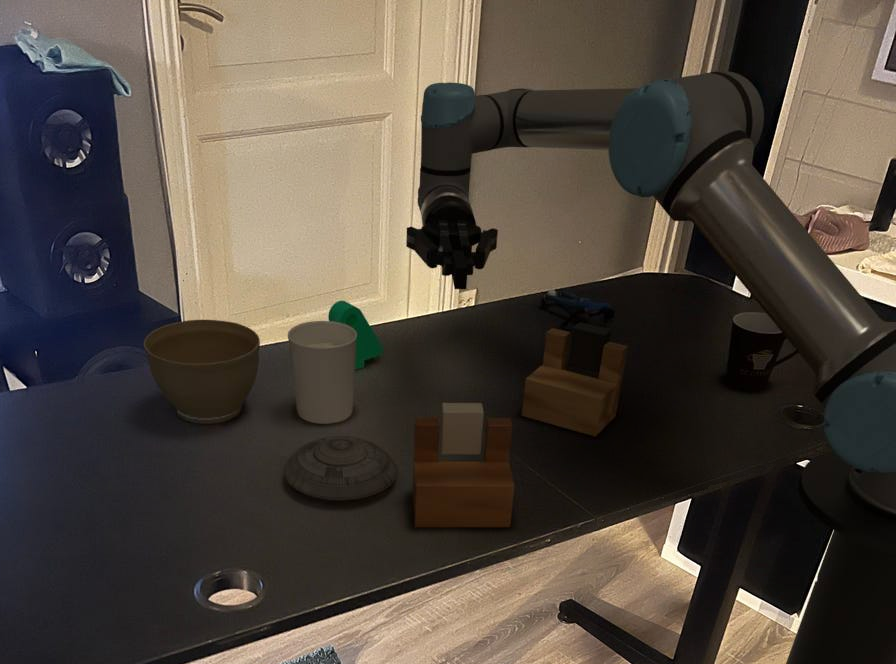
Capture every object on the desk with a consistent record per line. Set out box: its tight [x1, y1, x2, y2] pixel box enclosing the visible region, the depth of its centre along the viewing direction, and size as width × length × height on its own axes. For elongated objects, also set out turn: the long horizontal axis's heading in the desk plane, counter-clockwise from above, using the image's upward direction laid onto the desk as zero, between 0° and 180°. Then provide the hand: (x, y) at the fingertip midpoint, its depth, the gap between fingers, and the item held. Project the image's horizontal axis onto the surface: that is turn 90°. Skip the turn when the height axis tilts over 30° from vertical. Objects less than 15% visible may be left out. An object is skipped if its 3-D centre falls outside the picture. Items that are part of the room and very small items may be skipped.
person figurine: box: [540, 289, 616, 330], centre depth 175 cm, size 11×4×18 cm
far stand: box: [521, 327, 629, 437], centre depth 143 cm, size 8×12×11 cm, turn 60°
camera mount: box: [327, 300, 383, 370], centre depth 156 cm, size 12×8×10 cm, turn 127°
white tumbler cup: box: [287, 320, 357, 425], centre depth 141 cm, size 10×10×12 cm
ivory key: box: [439, 402, 485, 455], centre depth 122 cm, size 3×5×6 cm, turn 93°
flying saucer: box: [283, 435, 398, 502], centre depth 128 cm, size 15×15×6 cm
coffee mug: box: [724, 311, 799, 393], centre depth 154 cm, size 12×9×10 cm
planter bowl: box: [143, 319, 261, 425], centre depth 141 cm, size 16×16×11 cm
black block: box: [567, 321, 612, 374], centre depth 144 cm, size 3×5×6 cm, turn 60°
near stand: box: [411, 417, 516, 528], centre depth 121 cm, size 8×12×11 cm, turn 93°
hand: (461, 278), depth 122 cm, fingers closed
